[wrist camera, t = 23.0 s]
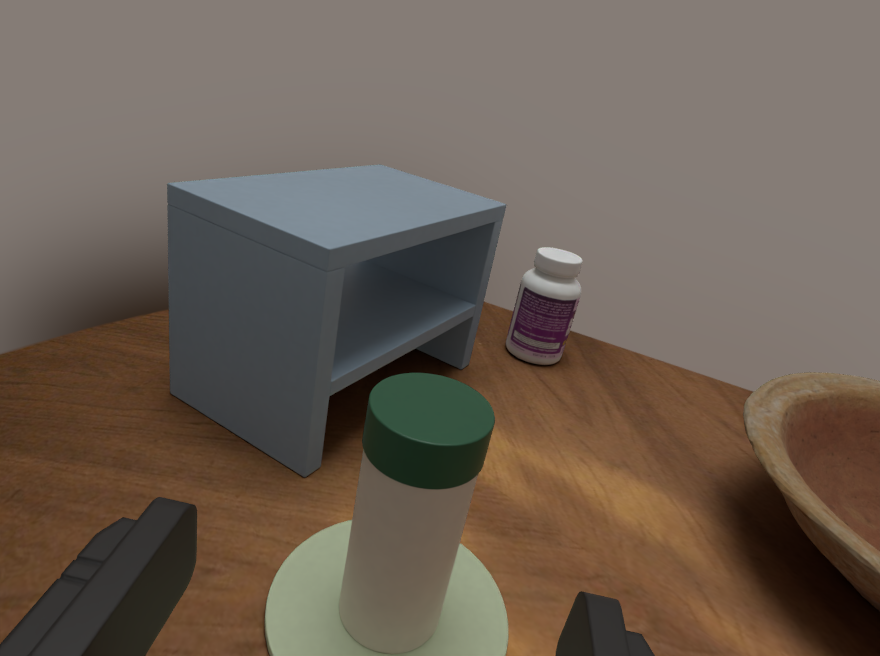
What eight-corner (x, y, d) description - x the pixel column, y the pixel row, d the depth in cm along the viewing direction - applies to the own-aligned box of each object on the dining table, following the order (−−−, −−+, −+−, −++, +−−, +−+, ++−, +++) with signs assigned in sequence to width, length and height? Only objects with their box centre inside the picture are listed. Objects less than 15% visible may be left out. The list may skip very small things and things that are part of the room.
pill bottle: (570, 368, 53) (602, 268, 49) (517, 366, 51) (546, 263, 47) (546, 339, 58) (573, 246, 54) (496, 337, 56) (520, 241, 52)
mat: (208, 626, 25) (208, 618, 25) (368, 494, 34) (369, 487, 33) (423, 808, 20) (425, 800, 20) (542, 600, 29) (545, 593, 29)
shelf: (169, 393, 39) (166, 182, 33) (359, 314, 55) (380, 164, 49) (304, 478, 34) (329, 249, 28) (469, 364, 50) (506, 204, 44)
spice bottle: (313, 612, 26) (341, 402, 21) (379, 548, 30) (415, 359, 25) (402, 679, 24) (455, 464, 19) (460, 601, 28) (515, 407, 23)
